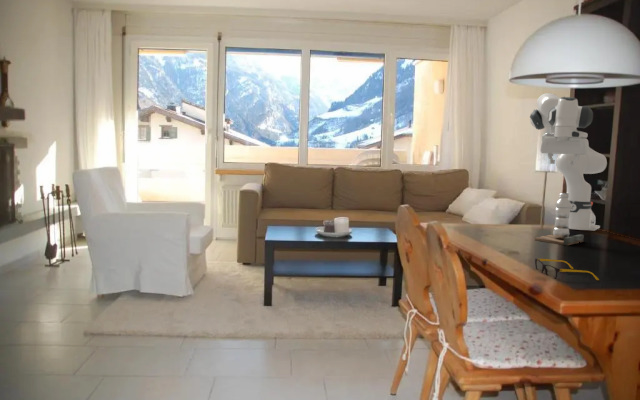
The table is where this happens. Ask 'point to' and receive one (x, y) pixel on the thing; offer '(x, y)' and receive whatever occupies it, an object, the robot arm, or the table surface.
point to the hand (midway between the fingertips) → (562, 164)
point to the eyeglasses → (559, 269)
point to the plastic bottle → (562, 216)
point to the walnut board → (564, 241)
